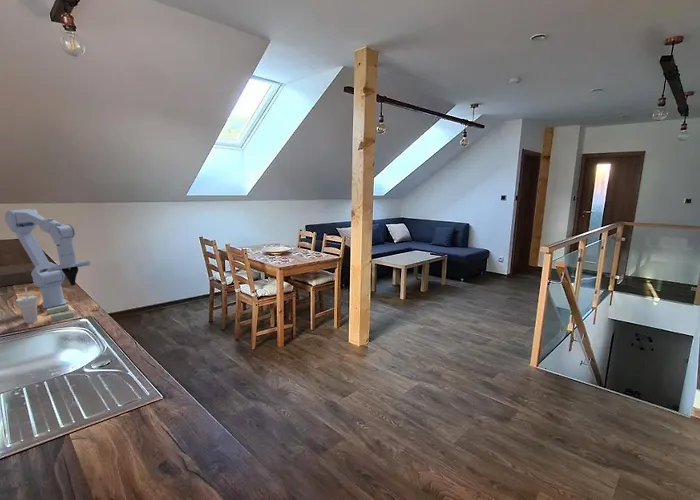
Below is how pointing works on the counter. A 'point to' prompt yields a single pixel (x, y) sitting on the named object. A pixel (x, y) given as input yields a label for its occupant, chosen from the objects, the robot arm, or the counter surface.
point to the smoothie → (28, 307)
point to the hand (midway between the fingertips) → (73, 284)
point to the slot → (60, 316)
